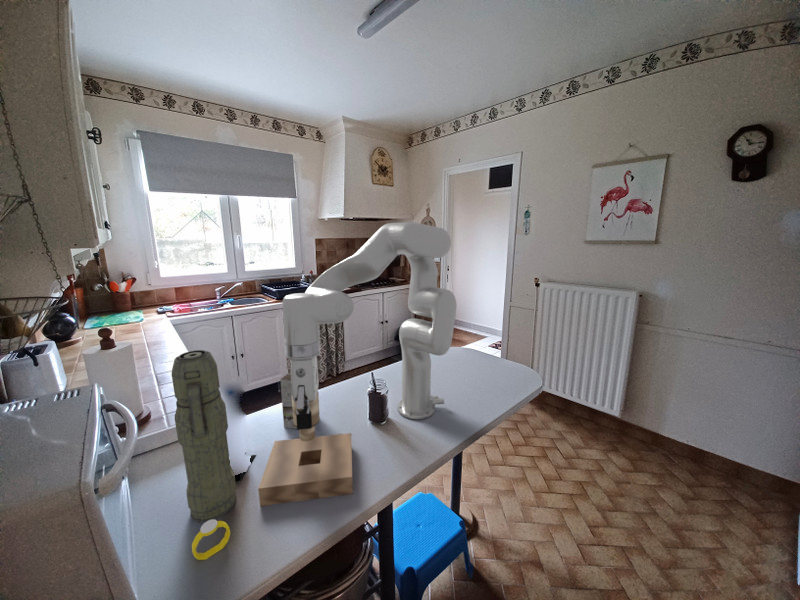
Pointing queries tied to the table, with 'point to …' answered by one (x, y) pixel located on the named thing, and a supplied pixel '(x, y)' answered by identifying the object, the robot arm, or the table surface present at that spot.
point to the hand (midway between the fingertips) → (306, 419)
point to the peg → (314, 408)
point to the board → (307, 470)
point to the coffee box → (287, 401)
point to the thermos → (203, 435)
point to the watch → (206, 530)
